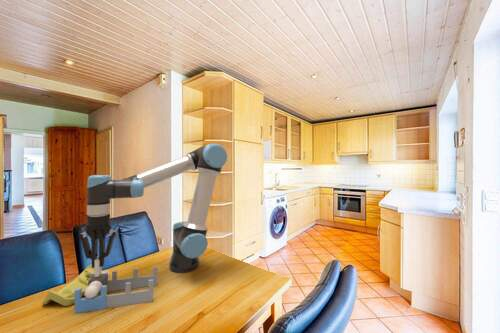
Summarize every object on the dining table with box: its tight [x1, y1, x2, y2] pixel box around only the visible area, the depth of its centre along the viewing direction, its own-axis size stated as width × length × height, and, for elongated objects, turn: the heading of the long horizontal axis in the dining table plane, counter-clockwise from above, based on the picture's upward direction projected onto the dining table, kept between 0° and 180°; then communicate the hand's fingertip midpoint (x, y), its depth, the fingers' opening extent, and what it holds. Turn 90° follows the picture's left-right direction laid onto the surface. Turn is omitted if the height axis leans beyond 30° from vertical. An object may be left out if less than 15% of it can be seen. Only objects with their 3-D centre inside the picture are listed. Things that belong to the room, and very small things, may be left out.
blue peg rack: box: [73, 265, 159, 314], centre depth 87 cm, size 26×13×8 cm, turn 106°
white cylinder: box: [83, 269, 111, 298], centre depth 85 cm, size 16×5×5 cm, turn 16°
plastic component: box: [42, 263, 95, 307], centre depth 91 cm, size 20×7×10 cm
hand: (98, 275), depth 85 cm, fingers closed
